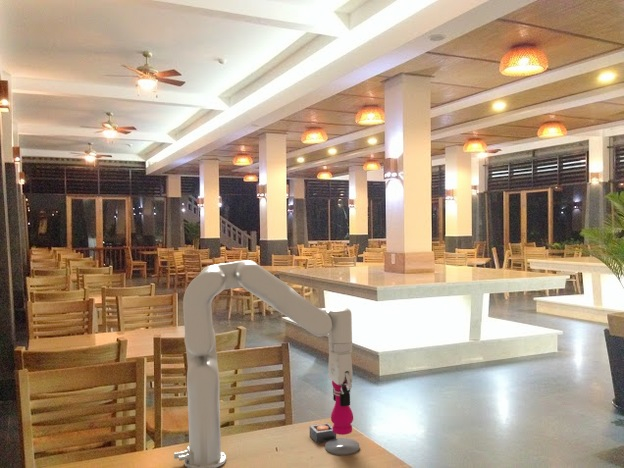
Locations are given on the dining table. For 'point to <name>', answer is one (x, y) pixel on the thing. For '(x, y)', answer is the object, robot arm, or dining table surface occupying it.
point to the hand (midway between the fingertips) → (341, 402)
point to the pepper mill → (341, 414)
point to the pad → (342, 446)
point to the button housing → (322, 433)
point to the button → (322, 428)
